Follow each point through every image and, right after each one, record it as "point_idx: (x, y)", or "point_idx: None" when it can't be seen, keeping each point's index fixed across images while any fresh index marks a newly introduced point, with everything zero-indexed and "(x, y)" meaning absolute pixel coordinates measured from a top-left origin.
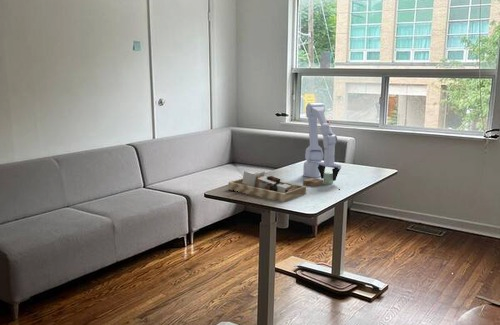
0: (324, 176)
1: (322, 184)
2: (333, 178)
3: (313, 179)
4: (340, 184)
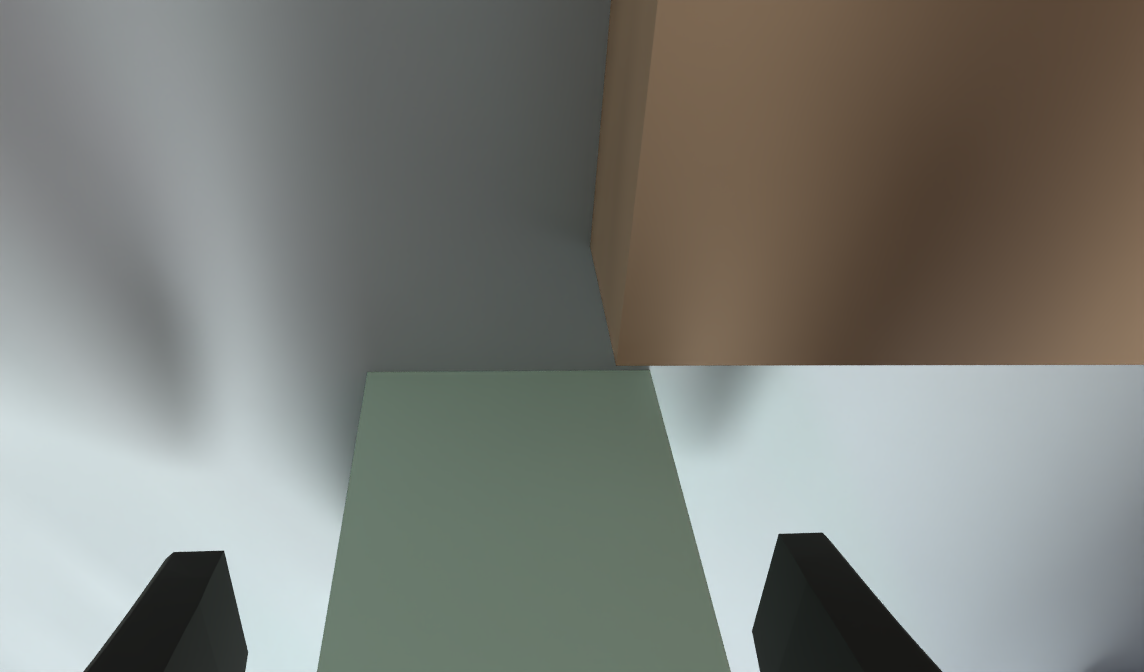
0: (658, 608)
1: (593, 209)
2: (140, 634)
3: (1132, 124)
4: (99, 592)
